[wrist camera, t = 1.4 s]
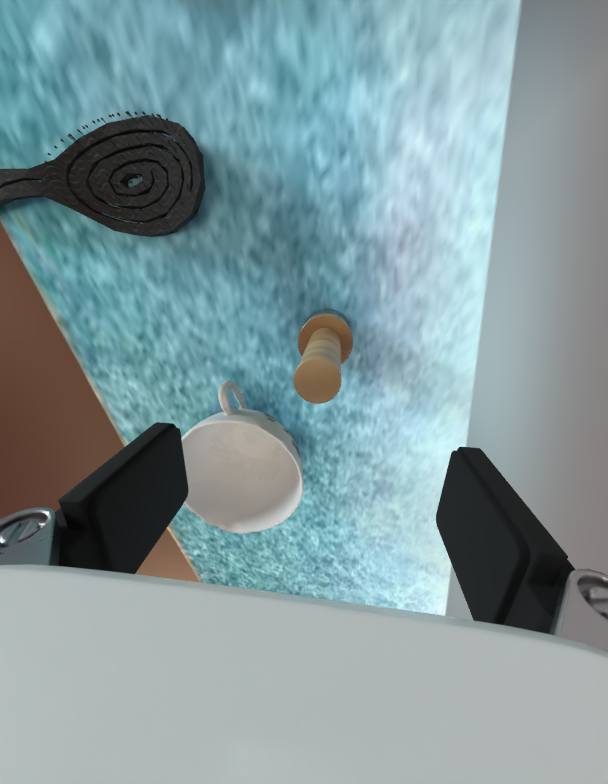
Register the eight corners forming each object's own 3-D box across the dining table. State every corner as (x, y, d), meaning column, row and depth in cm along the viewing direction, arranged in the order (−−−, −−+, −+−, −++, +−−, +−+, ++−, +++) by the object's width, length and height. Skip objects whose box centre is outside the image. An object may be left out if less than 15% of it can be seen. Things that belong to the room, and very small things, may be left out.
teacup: (315, 482, 36) (309, 536, 28) (217, 483, 37) (187, 534, 30) (302, 361, 30) (290, 390, 23) (188, 369, 32) (143, 398, 25)
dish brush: (297, 317, 29) (262, 354, 16) (343, 302, 28) (346, 327, 15) (312, 361, 30) (291, 428, 17) (356, 348, 29) (369, 408, 16)
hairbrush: (-104, 125, 24) (184, 87, 20) (-47, 143, 27) (209, 114, 23) (-54, 241, 27) (203, 228, 23) (-9, 244, 30) (222, 233, 26)
